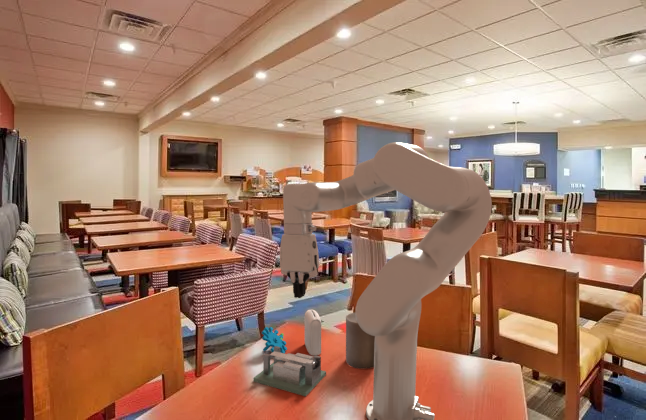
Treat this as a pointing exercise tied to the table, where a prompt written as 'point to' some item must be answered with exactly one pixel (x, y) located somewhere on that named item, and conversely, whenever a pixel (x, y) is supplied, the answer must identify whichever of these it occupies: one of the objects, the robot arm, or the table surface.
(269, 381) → the board
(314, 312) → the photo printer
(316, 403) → the table surface
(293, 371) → the grey block frame
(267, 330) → the gear
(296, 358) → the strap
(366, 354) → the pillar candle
